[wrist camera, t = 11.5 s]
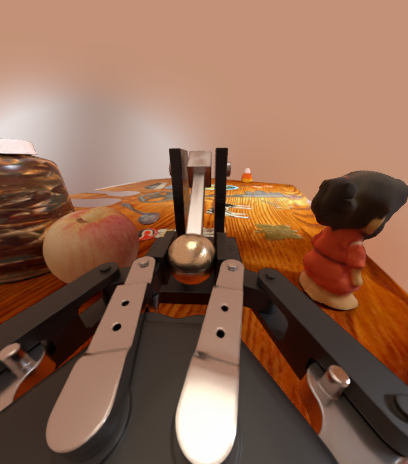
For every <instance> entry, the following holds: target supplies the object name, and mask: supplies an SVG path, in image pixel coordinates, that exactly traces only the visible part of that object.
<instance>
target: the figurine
mask: <svg viewBox="0 0 408 464" xmlns="http://www.w3.org/2000/svg"><path fill="white" fill-rule="evenodd" d="M407 198H408V186H407V185H406V184H405V183H404V182H403V181H401V180H399V179H395V178H393V177H391V176H388V175H385V174H382V173H378V172H374V171H355V172H351V173H349V174H347V175H344V176H342V177H339V178H335V179H330V180H324V181H323V182H322V184H321V185H320V187H319V191H318V193H317V194H316V196H315V197H314V198H313V200H312V203H311V210H312V211H313V213H314V214H315V217H316V220H317V222H318V223H319V224H321V225H324V226H327V227H326V228H325V229H323V230H322V231H321V232H320V233H319V234H316V235H315V236H314V238H313V240H312V244H313V245H314V247H313V249H312V250H311V251H310V252H308V253H306V254H305V256H304V259H303V262H304V267H305V270H304V271H302V272H301V274H300V276H299V277H298V279H299V283H300V285H301V286H302V287H303V288H304V291H305V292H307V293H308V295H309V296H310V297H311V299H312V300H315V301H318V302H319V303H320V304H321V303H324V304H325V305H328V306H330V307H333V308H336V309H343V310H349V309H353V308H356V307H357V306H358V305H359V304H358V301H357V300H356V298H355V297H354V296H353V294H352V292H353V291H357V290H358V289H360V286H361V285H362V283H363V280H362V278H361V273H360V272H361V269H362V268H365V259H366V252H365V248H364V246H363V243H362V242H363V241H364V240H366V239H370V238H373V237H375V236H376V235H377V234H379V233H380V232H381V231H382V230H383V228H384V225H385V223H386V222H387V221H389V219H390V218H391V216H392V215H393V214H394V213H395V212H396V211H398V210H399V208H401V207H402V206H403V205H404V204H405V203H406V201H407Z"/></svg>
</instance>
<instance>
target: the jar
mask: <svg viewBox="0 0 408 464" xmlns="http://www.w3.org/2000/svg"><path fill="white" fill-rule="evenodd" d="M31 155H37V153H36V151H35V149H34V146H33V144H32V142H29V141H23V140H13V139H0V284H1V283H9V282H15V281H19V280H24V279H28V278H31V277H35V276H38V275H41V274H44V273H47V272H50V269H49V268H48V266H47V264H46V262H45V259H44V255H43V243H44V238H45V235H46V233H47V231H48V229H49V228H50V227H51V225H52V224H53V223H55V222H56V221H57V220H59V219H60V218H61V217H63V216H65V215H67V214H70V213H73V212H75V210H74V207H73V205H72V202H71V199H70V196H69V194H68V191H67V189H66V186H65V183H64V181H63V178H62V176H61V173H60V171H59V169H58V167H57V165H56V164H55V163H54V162H53V161H50V160H47V159H43V158H39V157H35V156H31Z"/></svg>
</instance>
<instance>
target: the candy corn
mask: <svg viewBox="0 0 408 464" xmlns="http://www.w3.org/2000/svg"><path fill="white" fill-rule="evenodd" d="M241 181H242V182H244V183H249V182H251V181H252V176H251V172H250V169H249V168H246V170H245V171H244V174H243V176H242V179H241Z"/></svg>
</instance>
